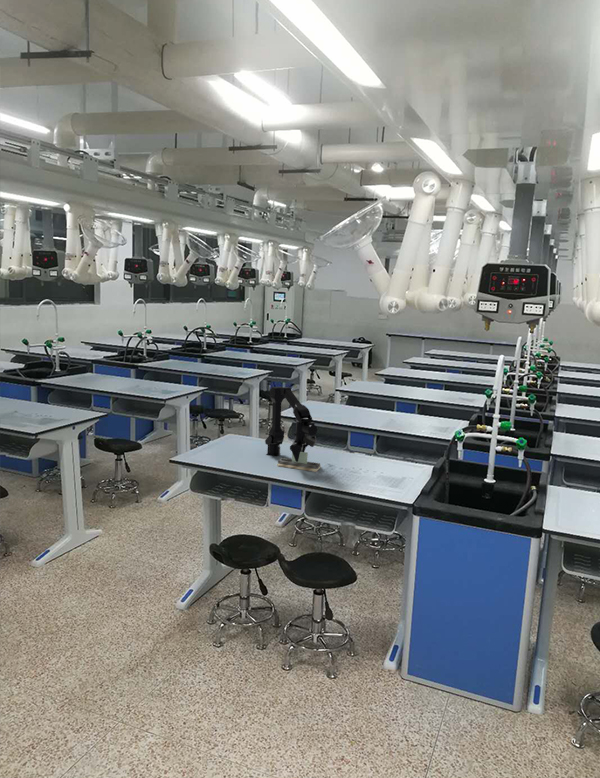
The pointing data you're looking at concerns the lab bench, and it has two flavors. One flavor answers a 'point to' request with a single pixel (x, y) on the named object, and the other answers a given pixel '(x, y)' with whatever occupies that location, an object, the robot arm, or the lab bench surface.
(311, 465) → the track
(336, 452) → the lab bench surface
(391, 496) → the lab bench surface
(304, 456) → the door panel
